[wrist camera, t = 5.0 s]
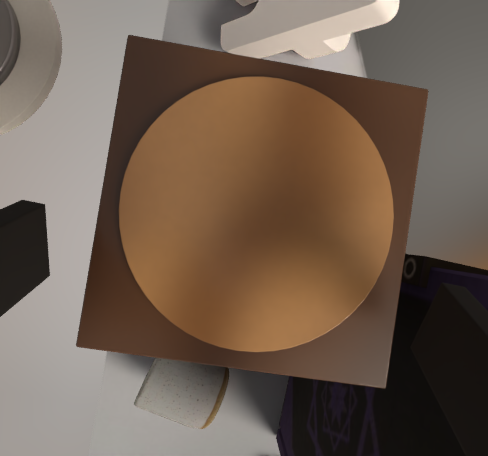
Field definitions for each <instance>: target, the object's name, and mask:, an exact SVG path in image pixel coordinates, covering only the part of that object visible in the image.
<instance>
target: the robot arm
mask: <svg viewBox="0 0 488 456" xmlns="http://www.w3.org/2000/svg"><path fill="white" fill-rule="evenodd" d="M20 41H21V36H20V27H19V23H18V19H17V16H16V14H15V11H14V9H13V7H12V6H11V4H10V2H9V1H8V0H0V85H1V84H2V83H3V82H4V81H5V80H6V79H7V77H8V76H9V75H10V73H11V71H12V70H13V68H14V66H15V64H16V61H17V58H18V55H19V50H20ZM49 276H50V272H49V257H48V242H47V228H46V213H45V204H40V203H35V202H30V201H25V200H21V201H19V202H16V203H14V204H12V205H9V206H7V207H5V208H3V209H0V317H1V316H2V315H3V314H4V313H6V312H7V311H8V310H9V309H10V308H12V307H13V306H14V305H15V304H16V303H17V302H19V301H20V300H21V299H22V298H23V297H25V296H26V295H27V294H28V293H29V292H31V291H32V290H33V289H34V288H35V287H36V286H38V285H39V284H40V283H41V282H43V281H44V280H45V279H46V278H47V277H49ZM410 348H411V350H412V352H413V354H414V356H415V358H416V360H417V362H418V364H419V366H420V368H421V370H422V372H423V374H424V376H425V378H426V379H427V381H428V383H429V385H430V387H431V389H432V391H433V393H434V395H435V397H436V399H437V401H438V403H439V405H440V407H441V409H442V411H443V413H444V415H445V416H446V418H447V420H448V422H449V424H450V426H451V428H452V430H453V432H454V434H455V436H456V438H457V440H458V442H459V444H460V446H461V448H462V450H463V452H464V453H465V455H466V456H488V311H487V310H486V309H485V308H484V307H483V305H482V304H481V303H480V302H479V301H478V300H477V299H476V298H475V297H474V296H473V295H472V294H471V293H470V292H469V291H468V290H467V289H466V287H462V286H457V285H452V284H447V283H441V285H440V287H439V289H438V291H437V293H436V295H435V297H434V299H433V301H432V303H431V305H430V307H429V310H428V312H427V314H426V316H425V318H424V320H423V322H422V324H421V326H420V328H419V330H418V332H417V334H416V336H415V339H414V341H413V343H412V345H411V347H410Z"/></svg>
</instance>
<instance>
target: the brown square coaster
mask: <svg viewBox="0 0 488 456" xmlns="http://www.w3.org/2000/svg"><path fill="white" fill-rule="evenodd" d="M427 98H428V90H427V89H422V88H417V87H412V86H407V85H401V84H396V83H390V82H385V81H379V80H374V79H368V78H363V77H357V76H352V75H346V74H341V73H335V72H330V71H324V70H319V69H313V68H308V67H302V66H297V65H291V64H286V63H281V62H275V61H270V60H264V59H259V58H253V57H248V56H242V55H237V54H231V53H226V52H220V51H215V50H209V49H204V48H198V47H193V46H187V45H182V44H176V43H171V42H165V41H160V40H154V39H149V38H143V37H138V36H133V35H128V39H127V45H126V50H125V56H124V62H123V69H122V74H121V80H120V86H119V92H118V99H117V104H116V110H115V116H114V122H113V128H112V134H111V140H110V146H109V152H108V158H107V164H106V170H105V176H104V182H103V188H102V194H101V200H100V206H99V212H98V218H97V224H96V230H95V236H94V242H93V248H92V254H91V260H90V266H89V271H88V278H87V283H86V289H85V295H84V302H83V308H82V313H81V319H80V326H79V331H78V337H77V343H76V346H77V347H81V348H89V349H96V350H104V351H111V352H118V353H125V354H133V355H140V356H147V357H155V358H162V359H169V360H177V361H184V362H191V363H199V364H206V365H213V366H221V367H228V368H235V369H243V370H250V371H257V372H265V373H272V374H279V375H287V376H294V377H301V378H309V379H316V380H323V381H331V382H338V383H346V384H353V385H360V386H368V387H375V388H382V389H385V388H386V384H387V377H388V370H389V363H390V356H391V349H392V342H393V335H394V328H395V321H396V314H397V307H398V300H399V293H400V286H401V279H402V272H403V265H404V258H405V251H406V244H407V237H408V230H409V223H410V216H411V209H412V202H413V195H414V188H415V181H416V174H417V167H418V160H419V153H420V146H421V139H422V132H423V125H424V118H425V112H426V105H427Z"/></svg>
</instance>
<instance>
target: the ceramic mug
mask: <svg viewBox="0 0 488 456" xmlns="http://www.w3.org/2000/svg"><path fill="white" fill-rule="evenodd" d="M228 381H229V369H228V367H221V366H213V365H206V364H199V363H191V362H184V361H177V360H169V359H162V358H155V360H154V361H153V364H152V366H151V368H150V370H149V372H148V374H147V376H146V378H145V380H144V382H143V384H142V386H141V389H140V391H139V393H138V395H137V397H136V400H135V402H134V405H135V406H136V407H138V408H141V409H144V410H147V411H149V412H152V413H154V414H157V415H160V416H162V417H165V418H167V419H170V420H173V421H175V422H178V423H180V424H183V425H185V426H188V427H192V428H198V429H203V428H206V427H207V426H209V425H210V423H211V422H212V421H213V419H214V418H215V416H216V414H217V412H218V410H219V408H220V405H221V403H222V400H223V398H224V395H225V392H226V388H227V385H228Z"/></svg>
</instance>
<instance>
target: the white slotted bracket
mask: <svg viewBox="0 0 488 456" xmlns="http://www.w3.org/2000/svg"><path fill="white" fill-rule="evenodd" d="M235 1H237V2H238V3H239V4H241V5H242V6H243V7H244V6H246V5H249V4H251V3H253V2H256V1H258V0H235ZM398 8H399V0H259V1H258V3H257V5H256V7H255V8H254V9H253V11H252V12H250V13H249V14H248V15H246V16H243V17H241V18H238V19H235V20H233V21H230V22H228V23H225V24H223V25H221V47H222V49H223V50H225V51H227V52H229V53H231V54H237V55H242V56H248V57H253V58H259V59H260V58H264V57H267V56H271V55H274V54H278V53H282V52H285V51H289V50H294V51H295V52H296V53H298V54H299V55H301V56H302V57H304V58H307V59H312V58H316V57H320V56H324V55H328V54H332V53H336V52H340V51H343V50H344V49H345V48H346V46H347V44H348V42H349V39H350V36H351V33H353V32H357V31H360V30H364V29H367V28H371V27H374V26H378V25H382V24H385V23H387V22H389V21H390V20H391V19H393V17H394V16H395V15H396V13H397V11H398Z"/></svg>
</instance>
